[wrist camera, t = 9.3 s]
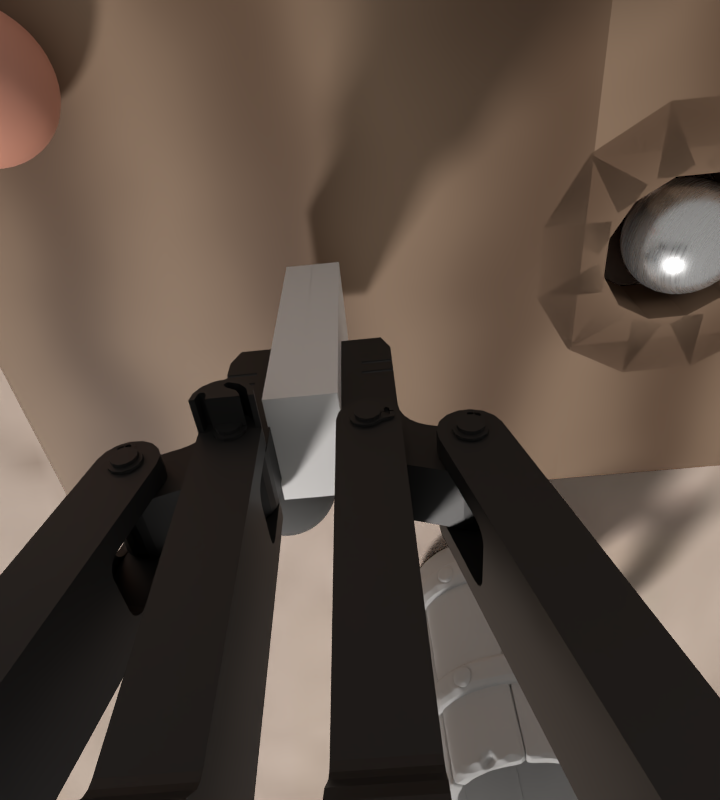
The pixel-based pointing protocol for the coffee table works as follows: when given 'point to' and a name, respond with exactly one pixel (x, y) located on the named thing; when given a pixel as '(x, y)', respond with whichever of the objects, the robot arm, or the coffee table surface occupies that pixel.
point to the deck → (364, 214)
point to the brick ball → (25, 95)
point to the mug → (482, 700)
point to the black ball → (303, 513)
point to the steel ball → (675, 236)
